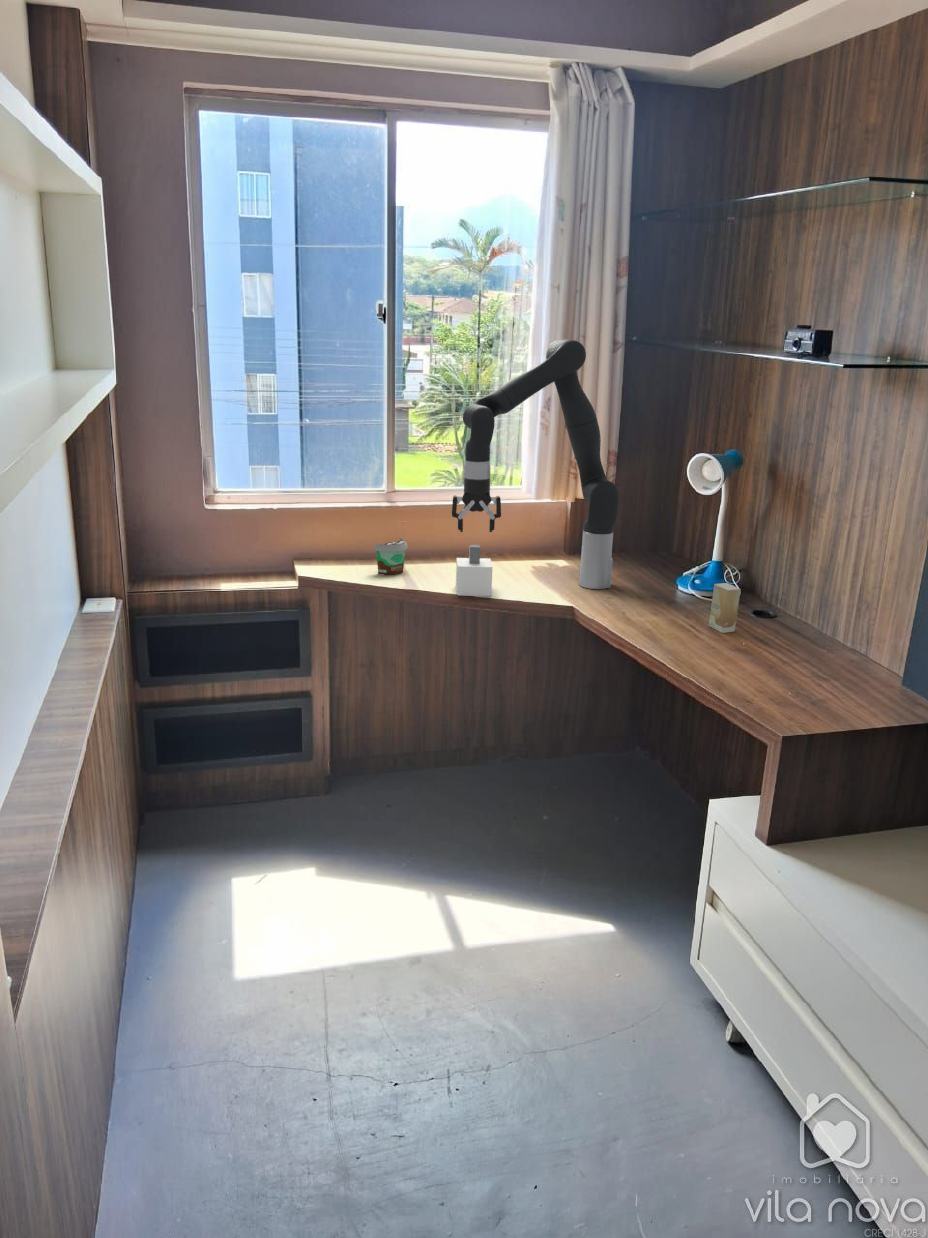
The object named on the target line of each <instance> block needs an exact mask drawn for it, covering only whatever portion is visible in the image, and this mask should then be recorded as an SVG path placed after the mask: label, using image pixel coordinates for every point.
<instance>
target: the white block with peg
mask: <svg viewBox="0 0 928 1238" xmlns="http://www.w3.org/2000/svg"><path fill="white" fill-rule="evenodd" d="M468 548H469V550H468V551H469V552H468V557H456V567H455V569H456V570H455V571H456V572H455V590H456V592H457V593H456V596H465V597H466V596H473V597H474V596H475V597H476V596H477V597H479V596H480V597H492V591H493V590H492V587H493V586H492V584H493V564H492V560H491V558H482V557H481V545H480V544H469V547H468Z"/></svg>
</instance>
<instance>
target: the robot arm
mask: <svg viewBox="0 0 928 1238" xmlns="http://www.w3.org/2000/svg"><path fill="white" fill-rule="evenodd" d="M545 355H546V356H545V358H546V360H544V361H543V362H541V363H539V364H538V365H537V366H535V367H533V368H531V369H530V370H528V371H526V372H523V373H522V374H519V375H517V376H516V377H513V378H512V379H510V380H509V381H507V382H506V383H504V384H502V385H501V386H500V387H499V388H497V389H496V390H494V391H493V392H492V393H489V394H488V395H486V396H484V397H482V398H479V399H477V400H476V401H474V402H472V403H471V404H469V405H468V406H467V407H466V408H465V409H464V412H463V414H462V422H463V424H464V425H465V426H466V427H467V428H468V429H470V437H469V439H468V440H467V441H466V443H465V452H464V453H465V458H464V459H465V461H464V467H463V495H462V496H458V495H453V496H452V506H451V516H452V518H456V519H457V530H458V531H459V532H460V533H463V531H464V530H463V529H464V517H465V515H466V514H467V513H468V512H471V513H473V512H474V513H475V512H479V513H481V512H485V513H486V514H487V516H488V517H489V525H488V532H489V533H492V532H493V531H494V530H495V524H496V523H495V521H496V519H498V518H501V517H502V504H501V503H502V501H501V496H500V495H496V496H491V476H492V474H491V473H492V472H491V444H492V440H493V435H494V430H495V417H497V416H501V415H505V414H507V413H509V412H511V411H512V410H513V409H515V408H517V407H518V406H519V405H521V404H522V403H524V402H525V401H526V400H527V399H529V398H530V397H532V396H534V395H535V394H537V393H538V392H539V391H541V390H543V389H544V388H546V387H547V386H549V385H551V384H553V383H554V385H555V388H556V392H557V395H558V398H559V403H560V406H561V410H562V414H563V419H564V423H565V426H566V431H567V434H568V438H569V441H570V444H571V445H570V446H571V448H572V451H573V455H574V458H575V461H576V464H577V468H578V474H579V480H580V486H581V493H582V497H583V500H584V501H585V503H586V504H587V505H588V514H587V518H586V520H584V522H583V525H582V526H583V527H582V541H581V552H580V553H581V554H580V567H579V568H580V570H579V579H578V580H579V583H578V584H579V586H580V587H582V588H584V589H591V590H604V589H611V585H612V584H611V583H612V573H613V562H614V561H613V560H614V559H613V557H612V554H613V553H612V552H613V542H614V541H613V540H614V531H615V530H614V528H615V525H616V524H617V521H618V514H619V504H620V492H619V488H618V486H617V485H616V484H615V483H614V482H612V481H610V480H608V478H607V475H606V474H605V471H604V470H605V469H604V467H603V463H602V460H601V459H602V458H601V430H600V426H599V421H598V418H597V414H596V410H595V409H594V407H593V405H592V403H591V402H590V399H589V398H588V397H587V395H586V393H585V392H584V389H583V387H582V385H581V383H580V379H579V376H578V370H580V369H581V368H582V367H583V365H584V363H585V362H586V358H587V351H586V348H585V346H584V345H583V344H582V343H581V341H580V342H579V341H578V340H576V339H557V340H554V341H552V342H551V343H550V344H549V345H548V347H547V350H546V353H545ZM461 501H462V502H463V504H464V506H463V508H462V509H461V511H459V512H457V508H458V505H459V504H460V503H461ZM491 502H493V504H494V505H495V507H496V509H495V510H496V511H495V513H493V511H492V510H491V509H490V507H489V505H490V503H491Z"/></svg>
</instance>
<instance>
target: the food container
mask: <svg viewBox="0 0 928 1238" xmlns="http://www.w3.org/2000/svg"><path fill="white" fill-rule="evenodd" d="M407 549H408V544H407V541H406V539H405V538H402V537H399V540H398V541H389V542H386V543H383V544H380V543H376V544H375V547H374V551H376V564H377V574H378V575H380V574H384V575H383V576H396V574H398V575H402V574H403V573H404V566H405V556H406V550H407Z"/></svg>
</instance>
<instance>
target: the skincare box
mask: <svg viewBox="0 0 928 1238" xmlns="http://www.w3.org/2000/svg"><path fill="white" fill-rule="evenodd" d="M713 585H714V586H713V592H712V598H711V606H710V614H709V620H708V627H710V628H712V629H714V630H716V631H717V632H719V633H721V634H725V633H734V632H735V630H736V624H737V617H738V611H739V610H738V609H739V605H740V599H741V598H740V596H741V590H742V589H741V588H739V587H737V586H735V585H732V584H730V583H727V582H723V583H722V582H721V583H720V582H719V583H714V584H713Z"/></svg>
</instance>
